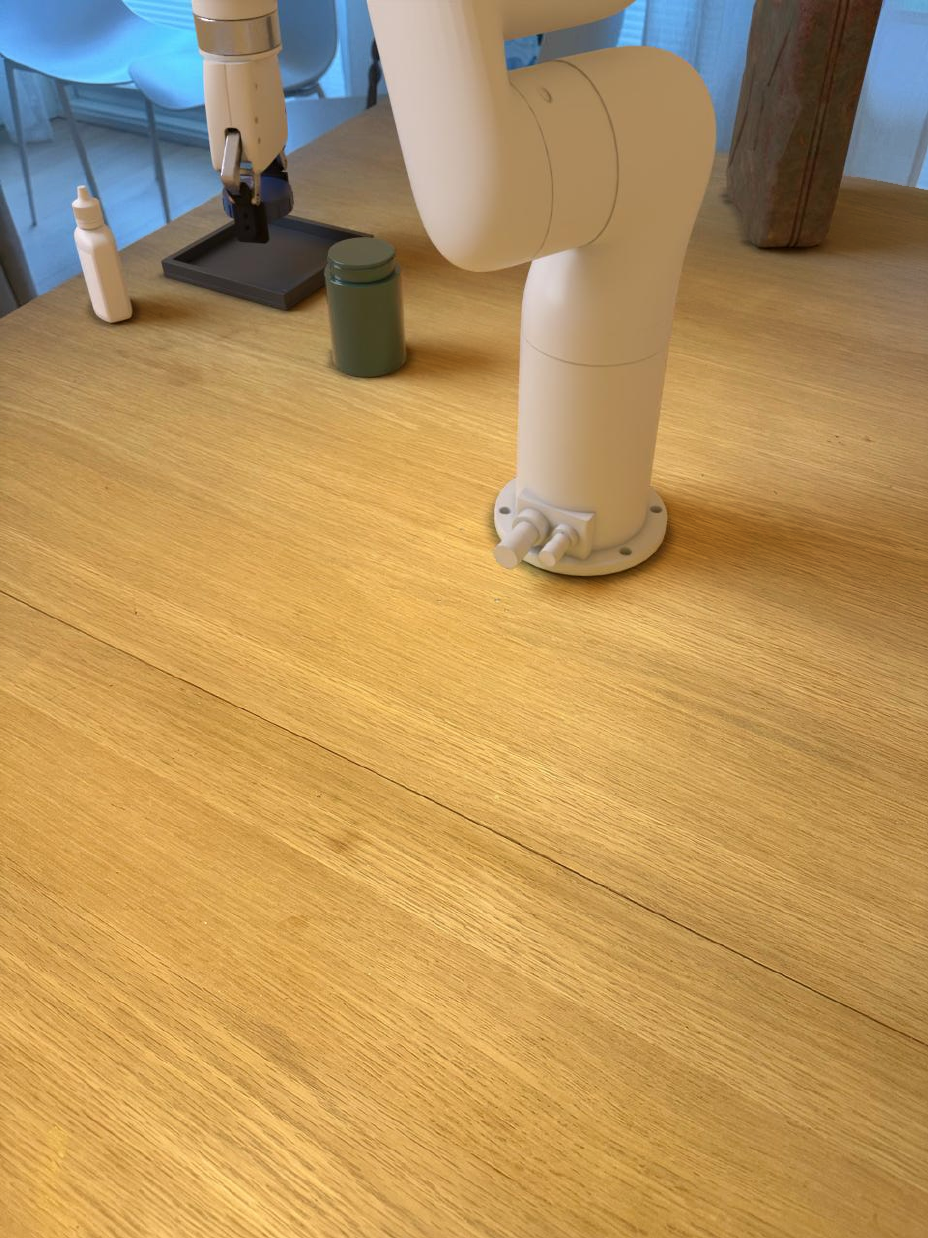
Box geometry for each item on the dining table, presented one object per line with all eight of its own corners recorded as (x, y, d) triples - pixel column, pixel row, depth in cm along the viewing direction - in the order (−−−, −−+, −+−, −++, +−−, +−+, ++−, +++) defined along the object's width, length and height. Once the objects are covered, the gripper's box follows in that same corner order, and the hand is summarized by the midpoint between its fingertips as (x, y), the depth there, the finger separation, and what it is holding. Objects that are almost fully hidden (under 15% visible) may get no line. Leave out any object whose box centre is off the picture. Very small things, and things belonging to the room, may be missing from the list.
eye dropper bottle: (83, 325, 101) (48, 199, 92) (97, 297, 105) (65, 175, 96) (129, 324, 101) (98, 198, 92) (141, 297, 105) (112, 174, 96)
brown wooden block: (831, 254, 110) (896, -19, 93) (751, 255, 110) (801, -18, 93) (788, 184, 124) (838, -65, 107) (717, 186, 124) (755, -63, 107)
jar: (396, 380, 93) (389, 270, 86) (324, 373, 94) (311, 264, 87) (413, 343, 97) (408, 237, 90) (344, 337, 98) (334, 231, 91)
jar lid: (297, 194, 109) (295, 176, 107) (288, 222, 104) (286, 203, 102) (231, 194, 109) (228, 175, 108) (219, 222, 104) (216, 202, 103)
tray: (286, 310, 102) (283, 294, 101) (164, 276, 108) (160, 260, 107) (374, 250, 112) (373, 234, 111) (258, 221, 118) (256, 206, 117)
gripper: (230, 5, 102) (257, 190, 114) (163, 59, 90) (200, 260, 102) (305, 8, 101) (323, 194, 113) (247, 63, 89) (275, 265, 101)
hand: (265, 224), depth 107 cm, fingers closed on jar lid, 6 cm apart
